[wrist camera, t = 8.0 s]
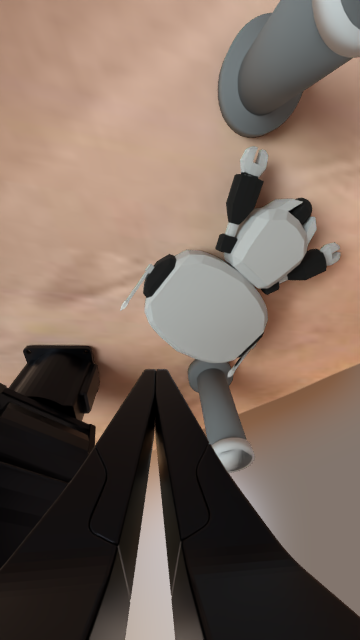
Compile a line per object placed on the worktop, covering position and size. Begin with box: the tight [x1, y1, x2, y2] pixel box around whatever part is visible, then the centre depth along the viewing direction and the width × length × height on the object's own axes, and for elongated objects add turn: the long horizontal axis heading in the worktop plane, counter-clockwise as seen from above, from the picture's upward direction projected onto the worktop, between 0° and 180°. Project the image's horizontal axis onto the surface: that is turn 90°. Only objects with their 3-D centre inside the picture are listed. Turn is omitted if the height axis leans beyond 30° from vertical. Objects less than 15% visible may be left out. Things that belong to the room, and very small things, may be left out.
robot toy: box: [120, 146, 341, 377], centre depth 19 cm, size 12×4×15 cm
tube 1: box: [188, 359, 255, 473], centre depth 22 cm, size 5×5×10 cm
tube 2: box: [218, 0, 360, 138], centre depth 10 cm, size 5×5×10 cm
